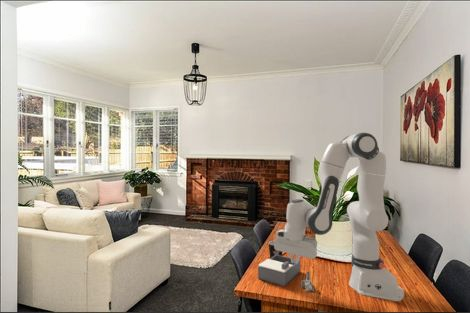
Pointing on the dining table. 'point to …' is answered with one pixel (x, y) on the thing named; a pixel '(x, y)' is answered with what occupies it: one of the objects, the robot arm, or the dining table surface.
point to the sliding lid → (276, 265)
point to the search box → (278, 276)
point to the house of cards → (307, 283)
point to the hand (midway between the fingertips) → (294, 263)
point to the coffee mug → (273, 251)
